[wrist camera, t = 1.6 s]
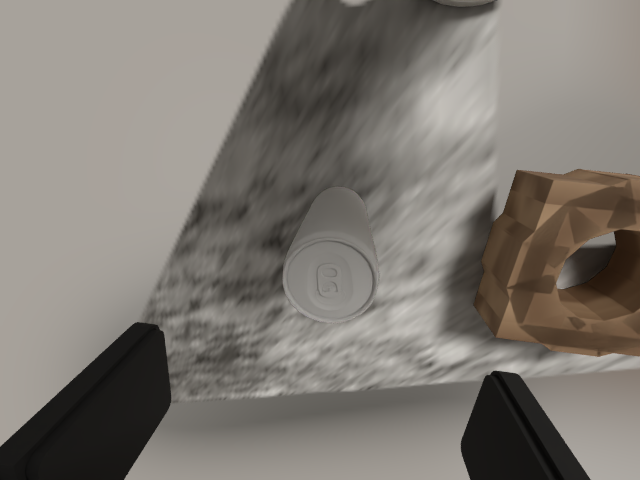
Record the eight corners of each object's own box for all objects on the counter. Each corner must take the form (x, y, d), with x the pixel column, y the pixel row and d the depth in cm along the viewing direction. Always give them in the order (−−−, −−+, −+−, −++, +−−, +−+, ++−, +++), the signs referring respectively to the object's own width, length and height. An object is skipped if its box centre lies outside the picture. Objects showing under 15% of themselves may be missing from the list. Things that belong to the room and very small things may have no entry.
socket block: (511, 161, 23) (548, 170, 19) (695, 180, 22) (775, 194, 18) (465, 309, 28) (486, 342, 23) (616, 328, 27) (665, 365, 23)
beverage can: (311, 240, 27) (283, 324, 16) (308, 185, 25) (274, 235, 14) (367, 240, 26) (380, 326, 15) (367, 184, 24) (382, 234, 13)
